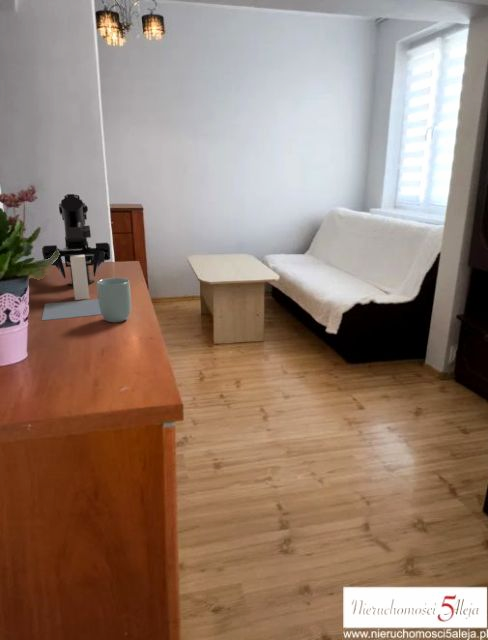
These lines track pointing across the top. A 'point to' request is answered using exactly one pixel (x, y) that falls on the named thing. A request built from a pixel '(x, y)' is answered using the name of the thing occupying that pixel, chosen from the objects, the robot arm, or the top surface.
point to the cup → (114, 299)
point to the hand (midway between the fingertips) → (79, 276)
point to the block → (79, 277)
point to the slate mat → (71, 309)
